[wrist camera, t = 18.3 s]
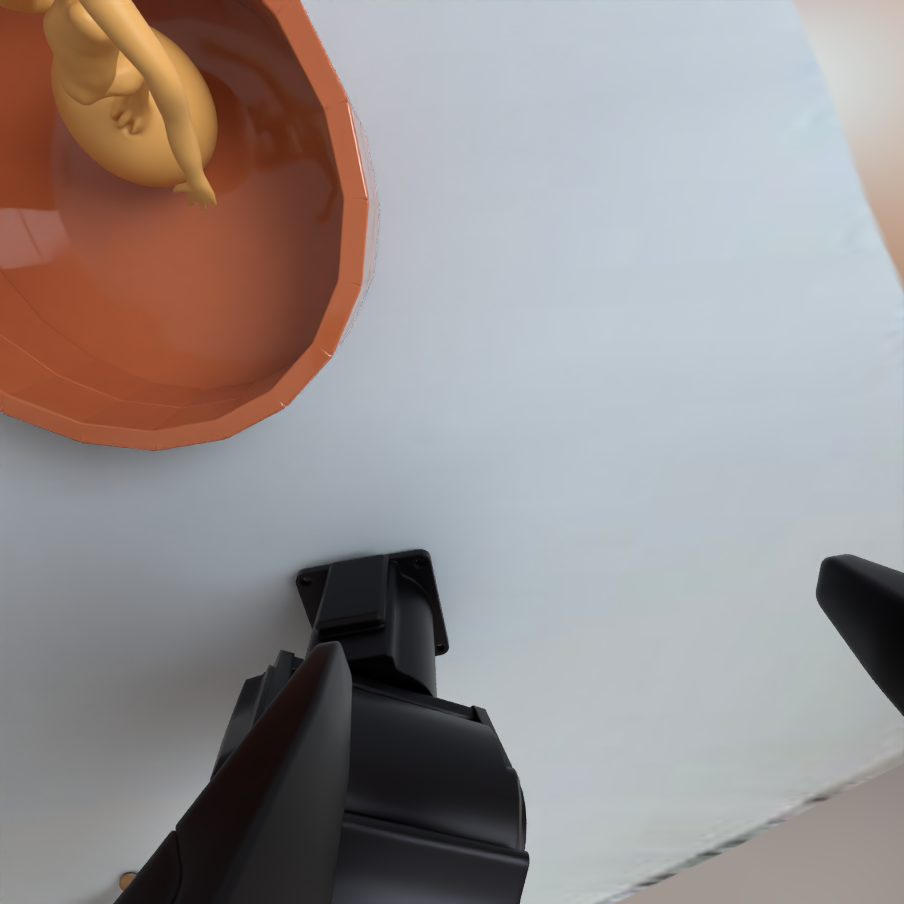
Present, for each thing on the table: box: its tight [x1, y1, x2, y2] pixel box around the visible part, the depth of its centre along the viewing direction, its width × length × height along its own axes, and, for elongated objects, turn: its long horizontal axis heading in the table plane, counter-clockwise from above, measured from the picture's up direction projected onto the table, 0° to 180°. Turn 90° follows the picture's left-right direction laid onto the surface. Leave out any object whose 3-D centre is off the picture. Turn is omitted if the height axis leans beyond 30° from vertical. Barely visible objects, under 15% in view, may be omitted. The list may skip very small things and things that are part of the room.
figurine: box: [0, 0, 218, 210], centre depth 10 cm, size 8×6×12 cm
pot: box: [0, 0, 380, 451], centre depth 15 cm, size 14×14×5 cm
